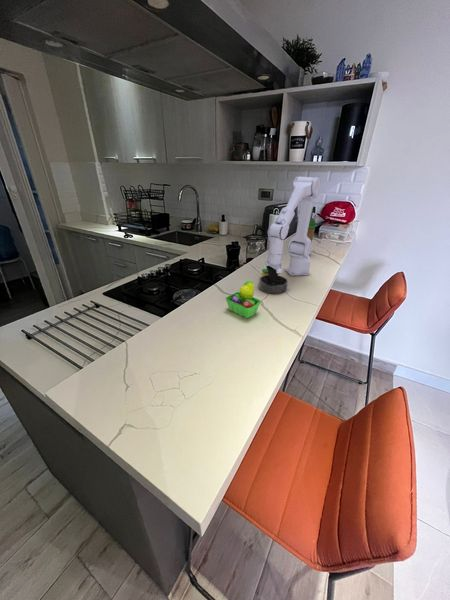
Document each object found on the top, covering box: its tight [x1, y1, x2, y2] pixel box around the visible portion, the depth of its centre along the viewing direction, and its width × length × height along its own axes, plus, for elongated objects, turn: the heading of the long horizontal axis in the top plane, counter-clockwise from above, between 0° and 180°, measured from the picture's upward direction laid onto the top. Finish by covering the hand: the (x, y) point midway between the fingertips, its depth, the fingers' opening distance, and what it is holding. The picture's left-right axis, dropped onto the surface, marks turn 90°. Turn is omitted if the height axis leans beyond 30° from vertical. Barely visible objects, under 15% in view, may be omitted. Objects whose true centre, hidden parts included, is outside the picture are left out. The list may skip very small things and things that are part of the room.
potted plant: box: [296, 207, 317, 244], centre depth 149 cm, size 11×11×28 cm
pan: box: [258, 274, 289, 295], centre depth 113 cm, size 12×12×4 cm
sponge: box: [261, 268, 269, 277], centre depth 121 cm, size 4×6×4 cm
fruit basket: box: [225, 280, 262, 319], centre depth 93 cm, size 11×9×11 cm
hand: (272, 282), depth 114 cm, fingers closed
